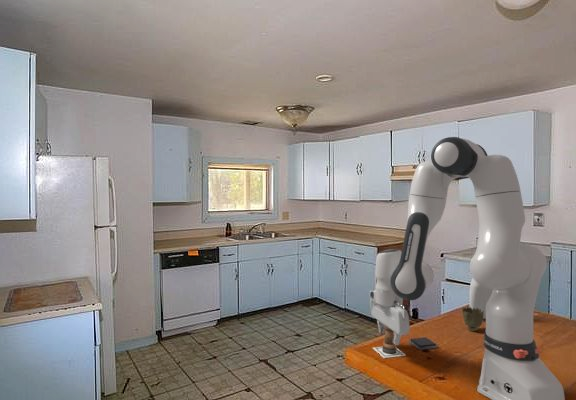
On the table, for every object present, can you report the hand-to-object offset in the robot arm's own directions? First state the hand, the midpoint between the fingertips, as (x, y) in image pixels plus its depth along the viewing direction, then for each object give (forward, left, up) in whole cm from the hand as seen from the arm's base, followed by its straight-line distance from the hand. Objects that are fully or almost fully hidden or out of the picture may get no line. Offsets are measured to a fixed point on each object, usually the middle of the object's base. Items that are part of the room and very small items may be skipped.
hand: (388, 338), depth 125 cm
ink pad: (+3, -14, -4) cm, 15 cm away
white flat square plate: (0, 0, -4) cm, 4 cm away
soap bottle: (+21, -55, -5) cm, 59 cm away
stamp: (0, 0, -4) cm, 4 cm away
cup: (+10, -41, -5) cm, 42 cm away
